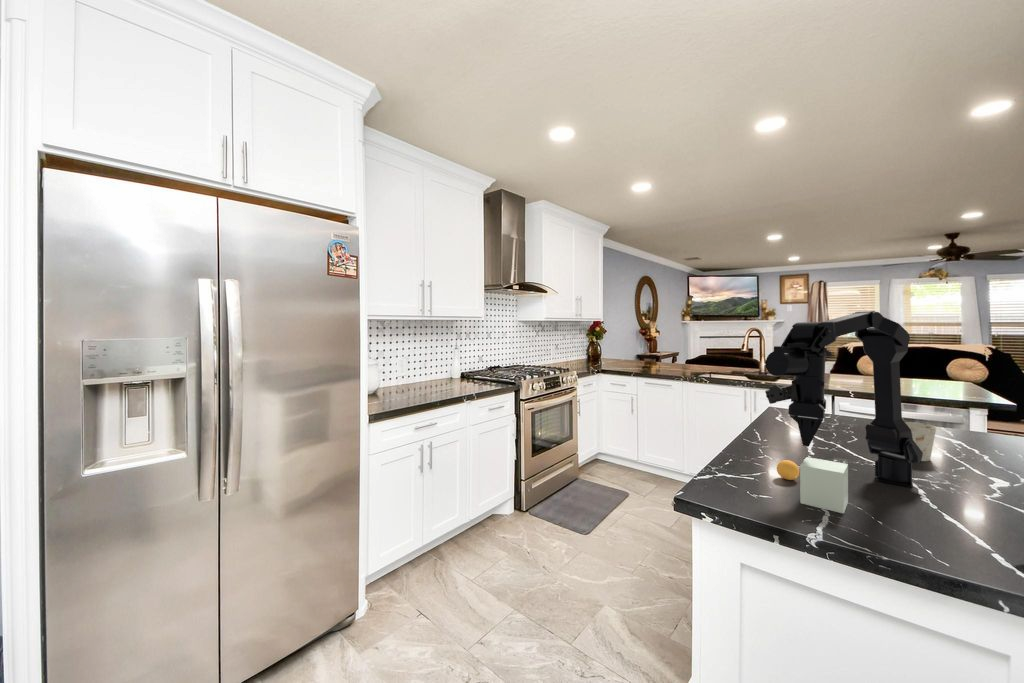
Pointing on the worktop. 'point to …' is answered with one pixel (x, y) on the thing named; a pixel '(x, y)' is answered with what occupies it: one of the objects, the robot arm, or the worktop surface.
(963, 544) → the worktop surface
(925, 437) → the mug
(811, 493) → the pale green block
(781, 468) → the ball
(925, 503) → the worktop surface
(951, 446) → the worktop surface
